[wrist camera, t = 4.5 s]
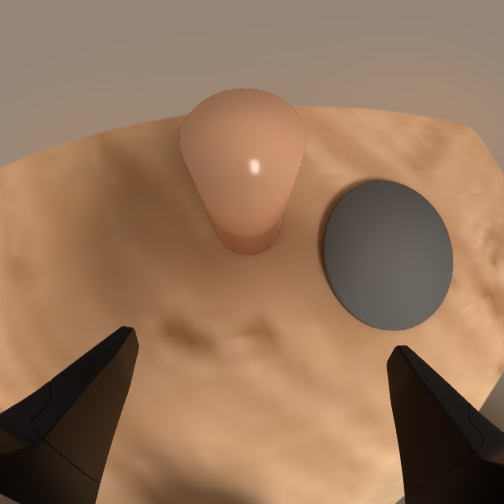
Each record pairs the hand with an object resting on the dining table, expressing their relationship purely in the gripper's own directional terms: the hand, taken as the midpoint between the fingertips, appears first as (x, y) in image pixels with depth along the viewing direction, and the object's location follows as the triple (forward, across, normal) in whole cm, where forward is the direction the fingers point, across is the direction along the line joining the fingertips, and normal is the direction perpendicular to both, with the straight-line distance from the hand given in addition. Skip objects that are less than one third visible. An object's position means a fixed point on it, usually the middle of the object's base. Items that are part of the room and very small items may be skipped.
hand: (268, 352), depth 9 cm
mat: (+14, -11, +3) cm, 18 cm away
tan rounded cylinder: (+15, +1, +2) cm, 15 cm away
